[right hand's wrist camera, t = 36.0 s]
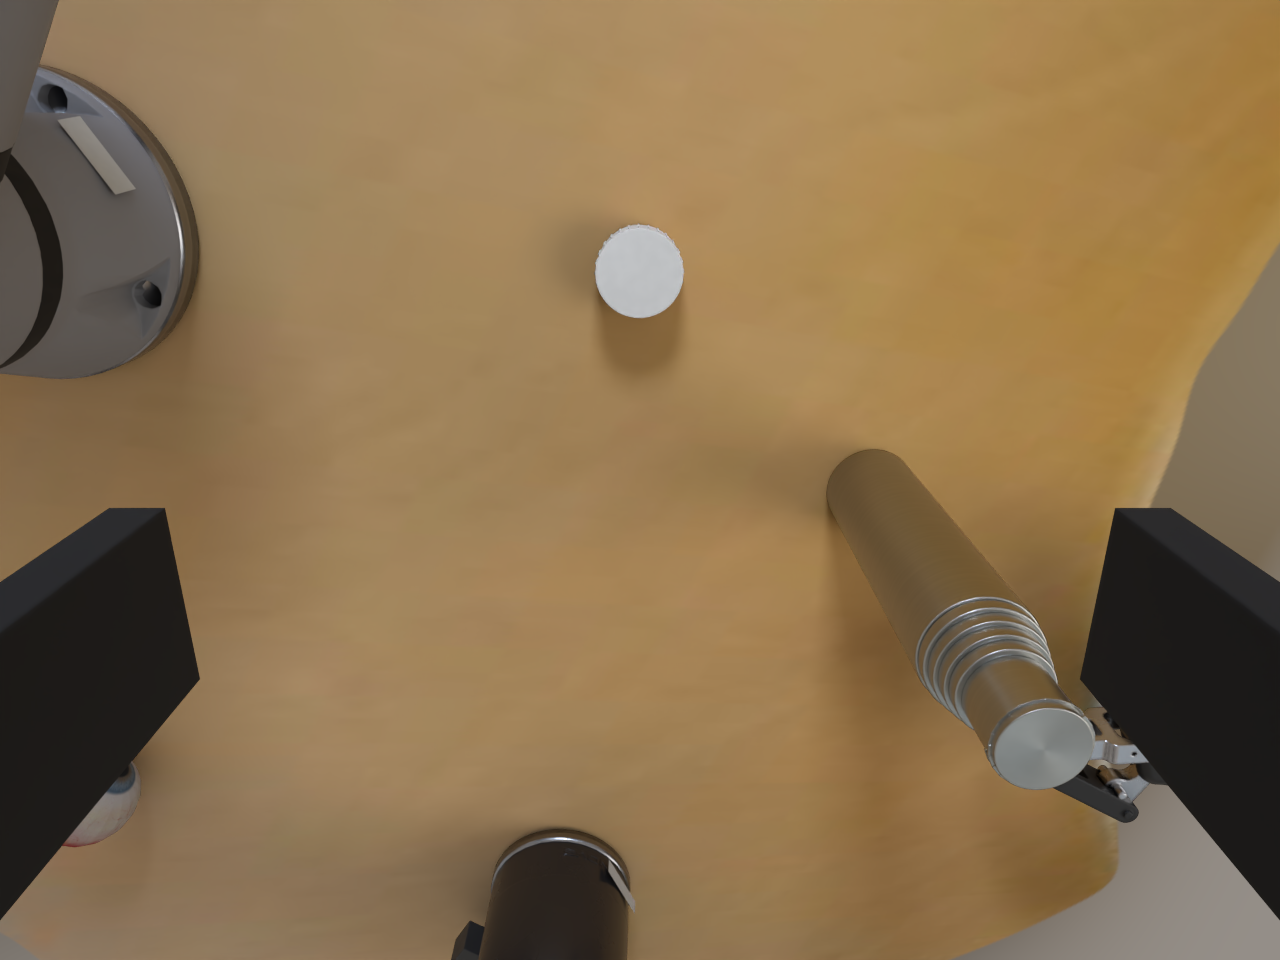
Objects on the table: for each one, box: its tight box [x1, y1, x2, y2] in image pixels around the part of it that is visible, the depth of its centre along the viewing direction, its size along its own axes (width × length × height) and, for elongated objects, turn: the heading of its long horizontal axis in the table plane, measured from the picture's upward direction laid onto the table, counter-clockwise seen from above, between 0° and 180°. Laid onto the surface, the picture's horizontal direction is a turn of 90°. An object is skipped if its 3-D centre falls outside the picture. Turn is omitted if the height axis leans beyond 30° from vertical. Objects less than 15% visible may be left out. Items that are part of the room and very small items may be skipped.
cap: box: [594, 224, 684, 318], centre depth 45 cm, size 4×4×2 cm
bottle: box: [827, 450, 1095, 790], centre depth 40 cm, size 5×5×23 cm
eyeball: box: [62, 761, 141, 847], centre depth 54 cm, size 6×6×6 cm
